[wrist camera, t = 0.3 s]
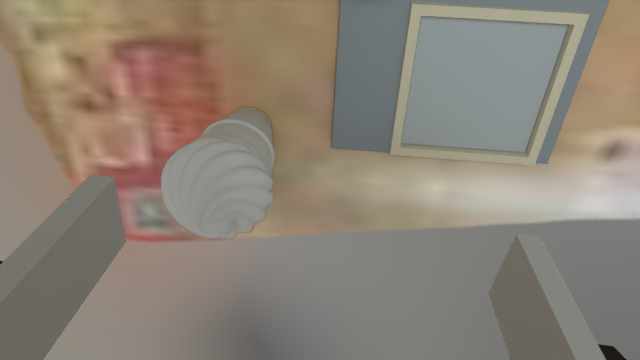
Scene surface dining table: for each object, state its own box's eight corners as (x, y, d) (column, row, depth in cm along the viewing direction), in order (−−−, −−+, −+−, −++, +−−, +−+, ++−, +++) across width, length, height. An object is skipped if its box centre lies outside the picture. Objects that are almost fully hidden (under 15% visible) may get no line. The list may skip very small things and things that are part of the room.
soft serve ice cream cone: (204, 153, 43) (134, 264, 30) (210, 76, 39) (130, 164, 25) (285, 171, 44) (251, 289, 30) (300, 96, 39) (268, 195, 26)
